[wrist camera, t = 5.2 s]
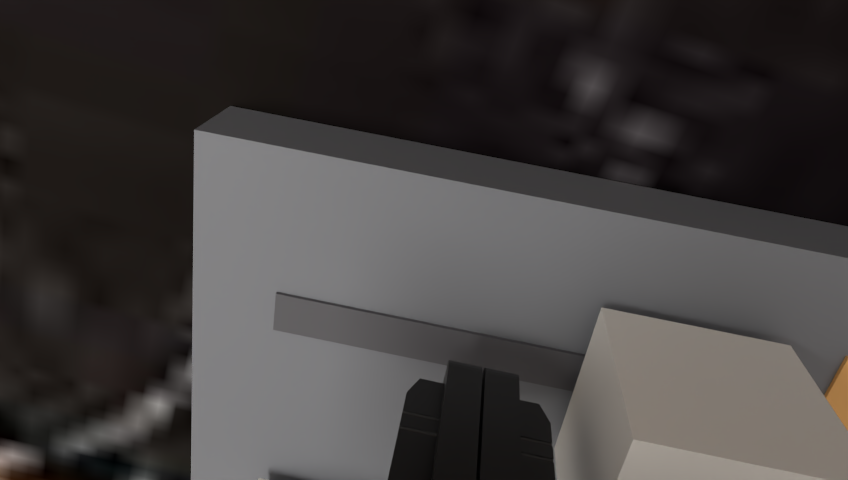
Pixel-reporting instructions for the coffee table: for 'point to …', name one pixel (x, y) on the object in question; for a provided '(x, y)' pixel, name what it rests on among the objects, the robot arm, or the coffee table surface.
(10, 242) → the coffee table surface
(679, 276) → the switch board
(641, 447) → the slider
